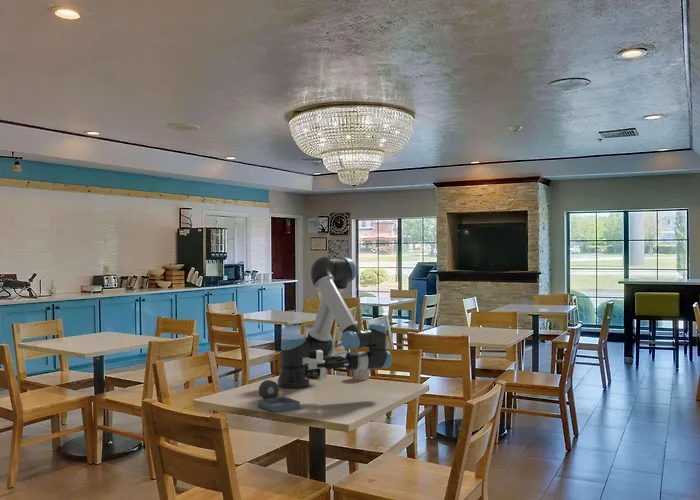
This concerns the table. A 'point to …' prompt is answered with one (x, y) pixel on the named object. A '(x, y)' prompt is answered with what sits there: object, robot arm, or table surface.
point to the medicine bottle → (315, 373)
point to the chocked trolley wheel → (269, 390)
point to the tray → (278, 404)
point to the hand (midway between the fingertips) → (305, 363)
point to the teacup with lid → (360, 374)
